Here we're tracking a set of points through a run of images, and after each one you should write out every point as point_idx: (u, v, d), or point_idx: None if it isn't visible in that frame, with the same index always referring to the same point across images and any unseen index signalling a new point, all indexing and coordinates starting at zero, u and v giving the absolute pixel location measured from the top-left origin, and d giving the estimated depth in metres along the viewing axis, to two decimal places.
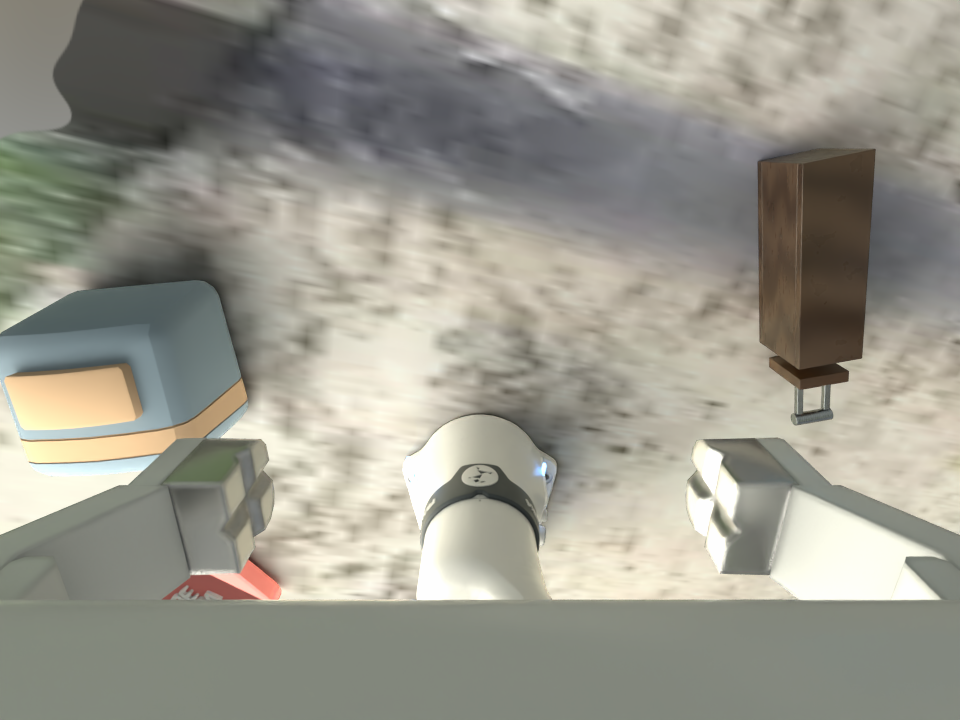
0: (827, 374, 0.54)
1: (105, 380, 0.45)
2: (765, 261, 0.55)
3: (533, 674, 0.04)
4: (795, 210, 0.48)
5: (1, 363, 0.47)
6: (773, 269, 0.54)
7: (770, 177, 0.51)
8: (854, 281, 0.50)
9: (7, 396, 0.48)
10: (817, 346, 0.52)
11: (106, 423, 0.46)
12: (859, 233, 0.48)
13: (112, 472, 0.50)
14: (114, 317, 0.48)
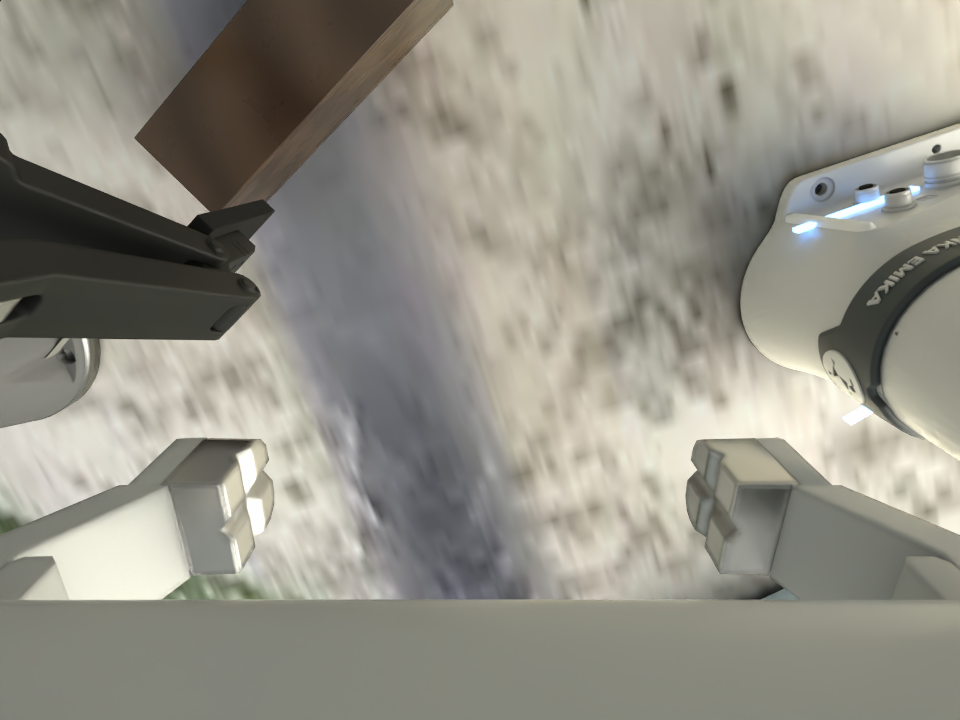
0: None
1: None
2: (349, 107, 0.37)
3: (533, 674, 0.04)
4: (264, 170, 0.33)
5: None
6: (349, 100, 0.35)
7: (263, 193, 0.38)
8: (275, 4, 0.29)
9: None
10: None
11: None
12: (221, 61, 0.30)
13: None
14: None
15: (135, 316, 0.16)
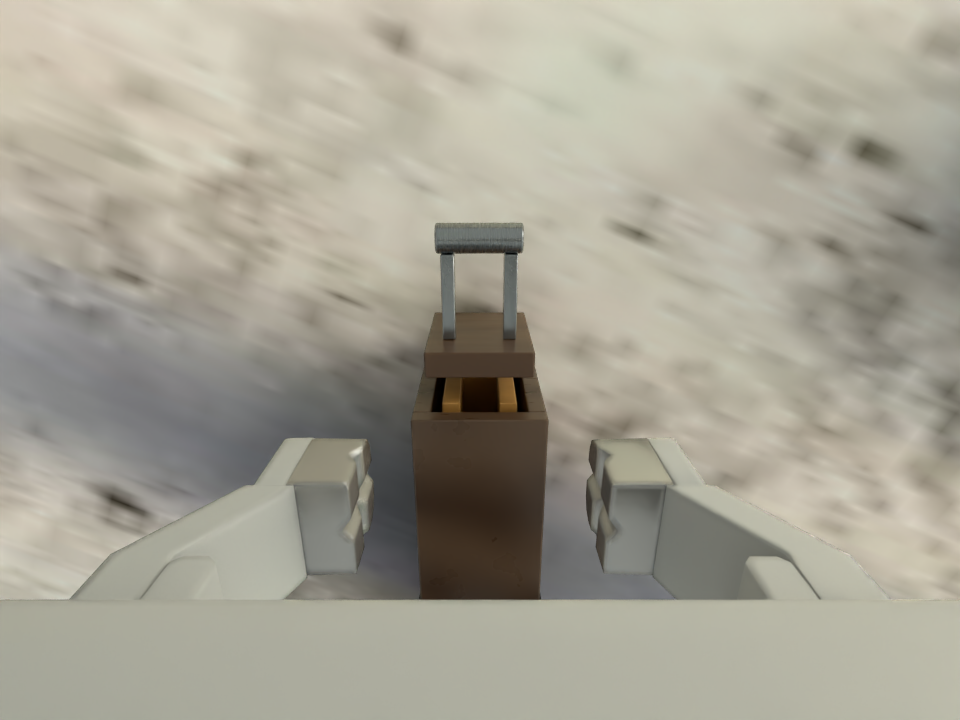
0: (472, 377, 0.24)
1: None
2: None
3: (533, 674, 0.04)
4: None
5: None
6: None
7: None
8: (442, 565, 0.26)
9: None
10: (509, 463, 0.24)
11: None
12: None
13: None
14: None
15: None
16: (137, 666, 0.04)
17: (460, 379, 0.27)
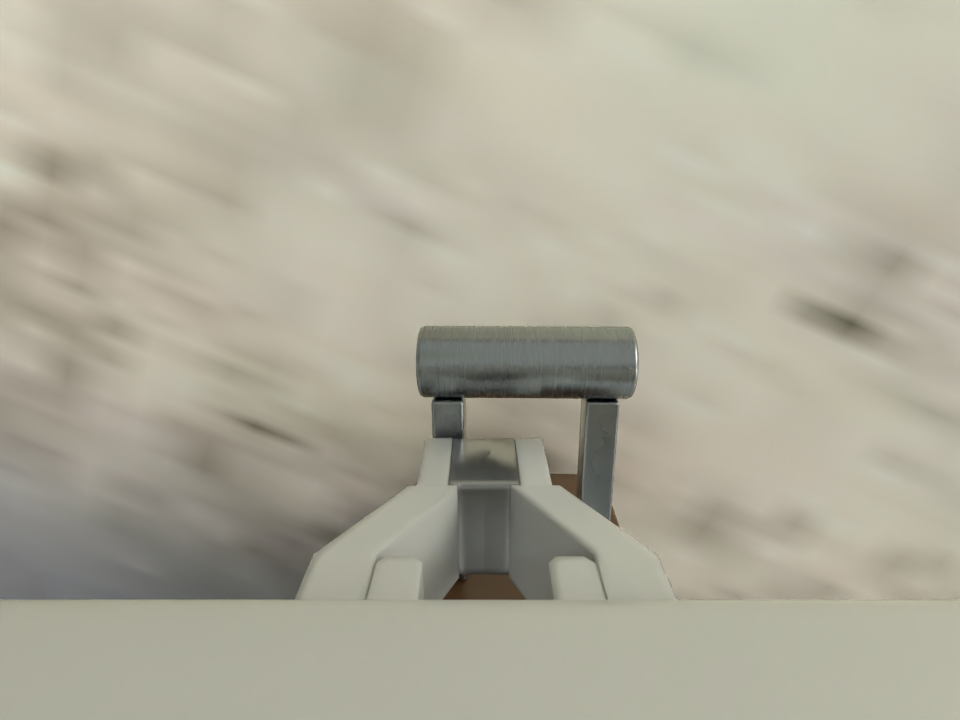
0: None
1: None
2: None
3: (532, 674, 0.04)
4: None
5: None
6: None
7: None
8: None
9: None
10: None
11: None
12: None
13: None
14: None
15: None
16: (137, 666, 0.04)
17: None
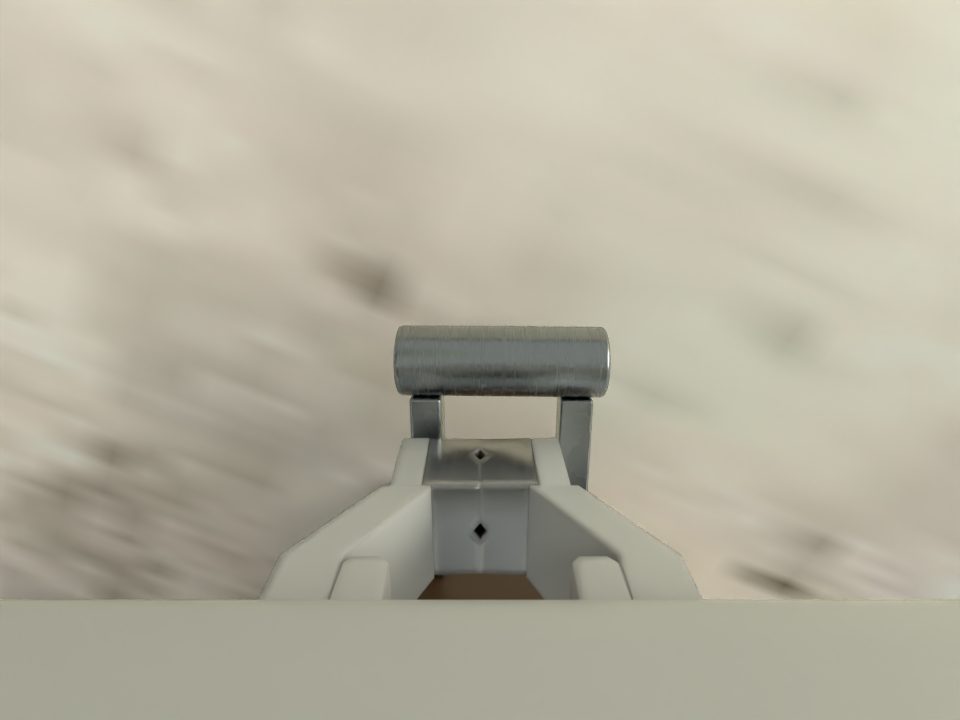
0: None
1: None
2: None
3: (533, 674, 0.04)
4: None
5: None
6: None
7: None
8: None
9: None
10: None
11: None
12: None
13: None
14: None
15: None
16: (137, 666, 0.04)
17: None
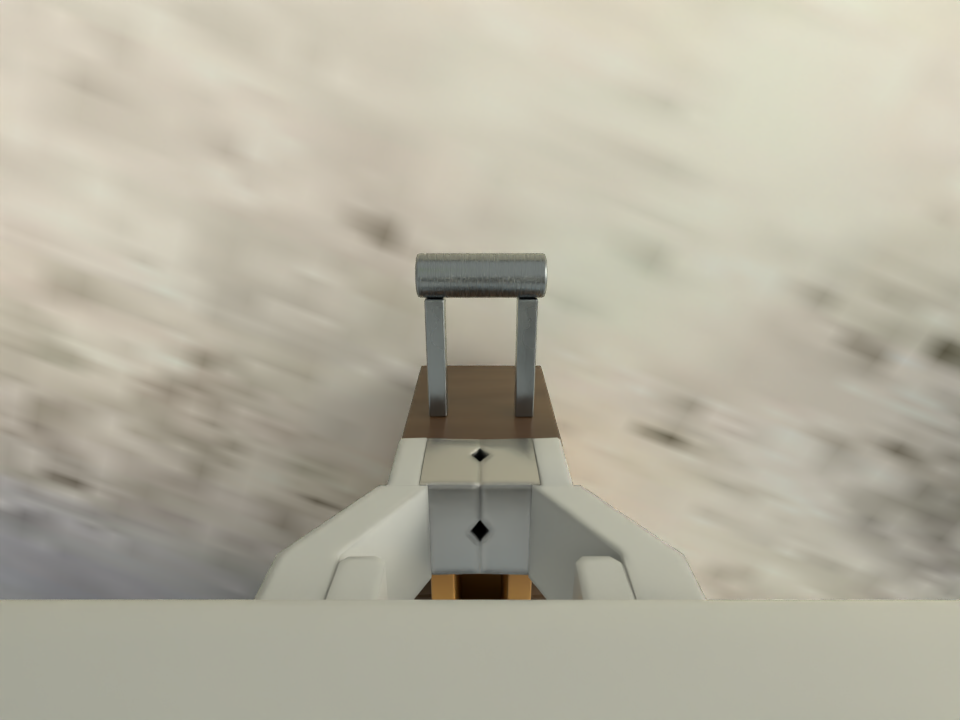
0: None
1: None
2: None
3: (533, 674, 0.04)
4: None
5: None
6: None
7: None
8: None
9: None
10: None
11: None
12: None
13: None
14: None
15: None
16: (137, 666, 0.04)
17: None
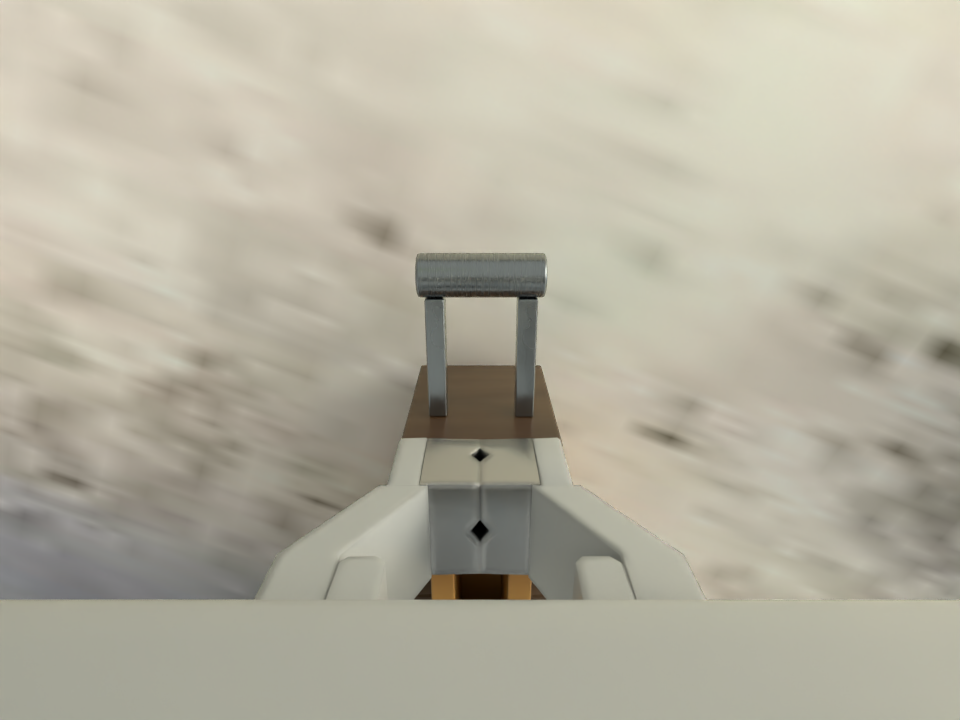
0: None
1: None
2: None
3: (532, 674, 0.04)
4: None
5: None
6: None
7: None
8: None
9: None
10: None
11: None
12: None
13: None
14: None
15: None
16: (137, 666, 0.04)
17: None
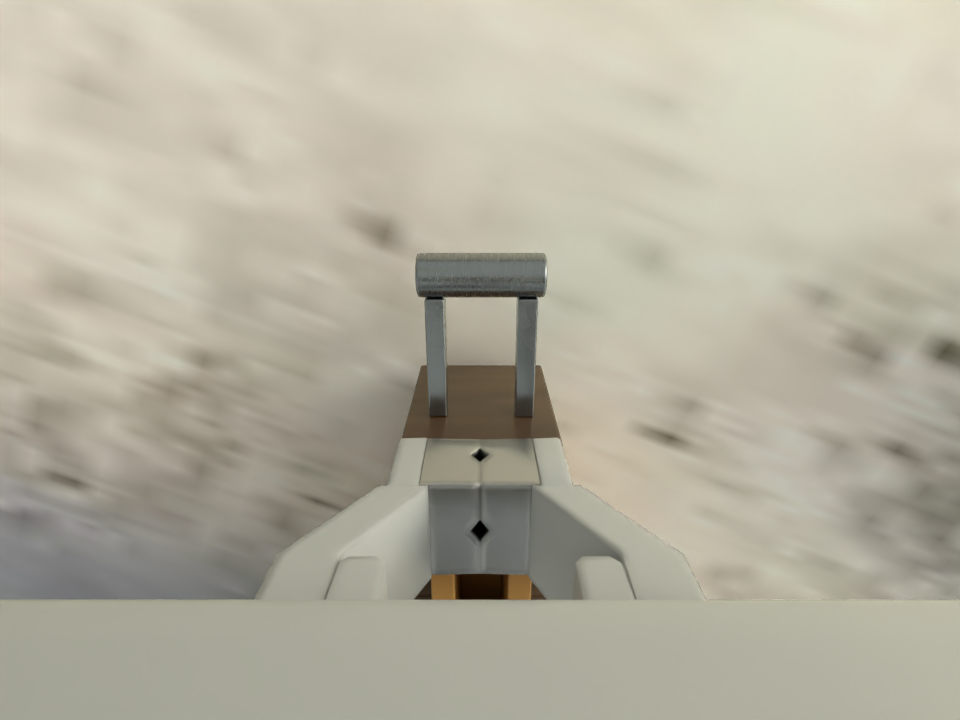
0: None
1: None
2: None
3: (532, 674, 0.04)
4: None
5: None
6: None
7: None
8: None
9: None
10: None
11: None
12: None
13: None
14: None
15: None
16: (137, 666, 0.04)
17: None
